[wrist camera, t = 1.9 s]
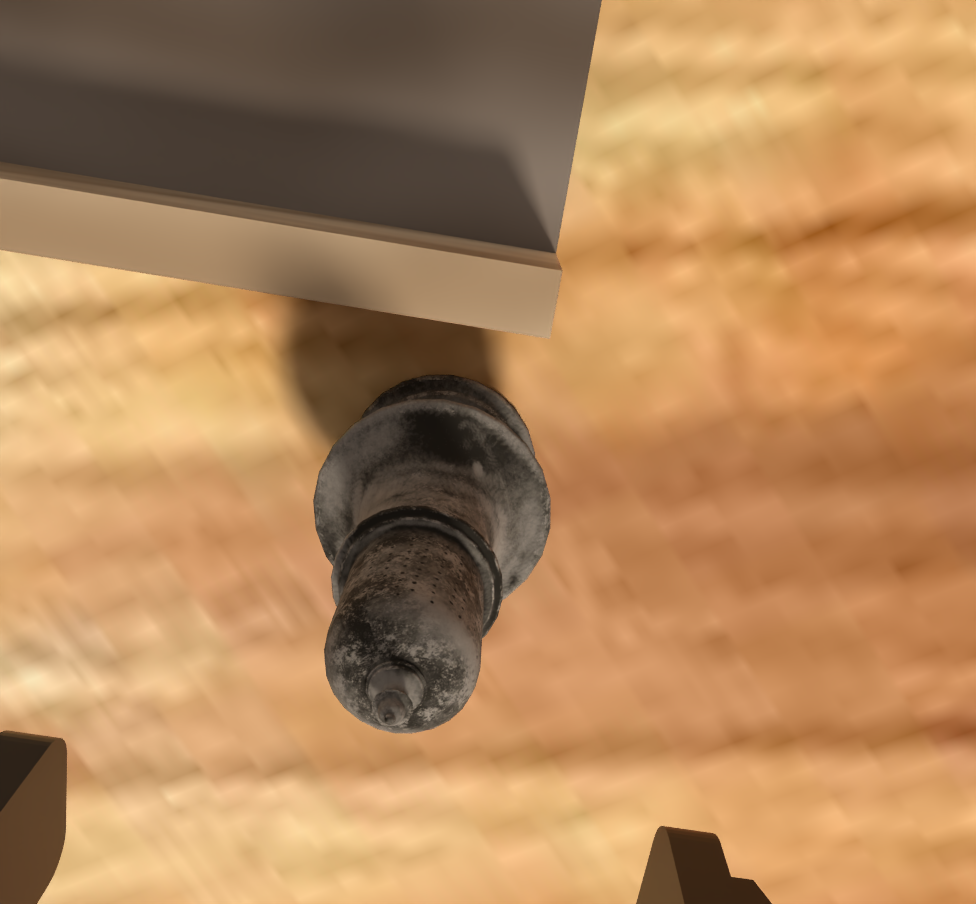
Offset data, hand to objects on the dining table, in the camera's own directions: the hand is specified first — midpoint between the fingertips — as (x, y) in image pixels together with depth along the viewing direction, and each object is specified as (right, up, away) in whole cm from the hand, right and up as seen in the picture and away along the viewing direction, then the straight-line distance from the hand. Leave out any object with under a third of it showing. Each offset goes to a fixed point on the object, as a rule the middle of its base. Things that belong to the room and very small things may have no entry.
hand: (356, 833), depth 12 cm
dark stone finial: (0, +5, +14) cm, 15 cm away
